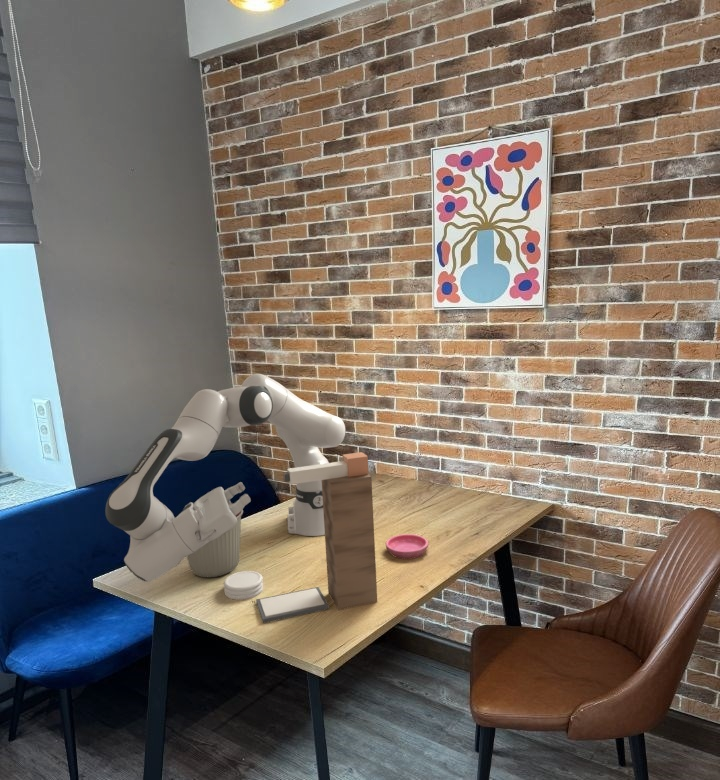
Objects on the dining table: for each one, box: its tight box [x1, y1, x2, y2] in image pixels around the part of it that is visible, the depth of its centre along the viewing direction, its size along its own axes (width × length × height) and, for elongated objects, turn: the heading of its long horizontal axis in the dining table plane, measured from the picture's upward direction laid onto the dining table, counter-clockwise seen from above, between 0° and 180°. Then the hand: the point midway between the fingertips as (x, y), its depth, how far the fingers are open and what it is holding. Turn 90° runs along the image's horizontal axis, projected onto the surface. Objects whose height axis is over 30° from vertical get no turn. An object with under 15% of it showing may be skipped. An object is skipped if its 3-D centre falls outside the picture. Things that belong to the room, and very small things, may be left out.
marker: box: [282, 451, 370, 485], centre depth 142 cm, size 4×20×4 cm, turn 109°
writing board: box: [255, 586, 330, 624], centre depth 146 cm, size 10×16×1 cm, turn 109°
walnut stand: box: [322, 473, 378, 611], centre depth 146 cm, size 9×10×32 cm
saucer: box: [385, 533, 429, 560], centre depth 173 cm, size 12×12×3 cm
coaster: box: [223, 570, 264, 601], centre depth 155 cm, size 10×10×4 cm
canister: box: [186, 502, 244, 578], centre depth 167 cm, size 18×18×21 cm
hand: (246, 490), depth 136 cm, fingers open, 8 cm apart
